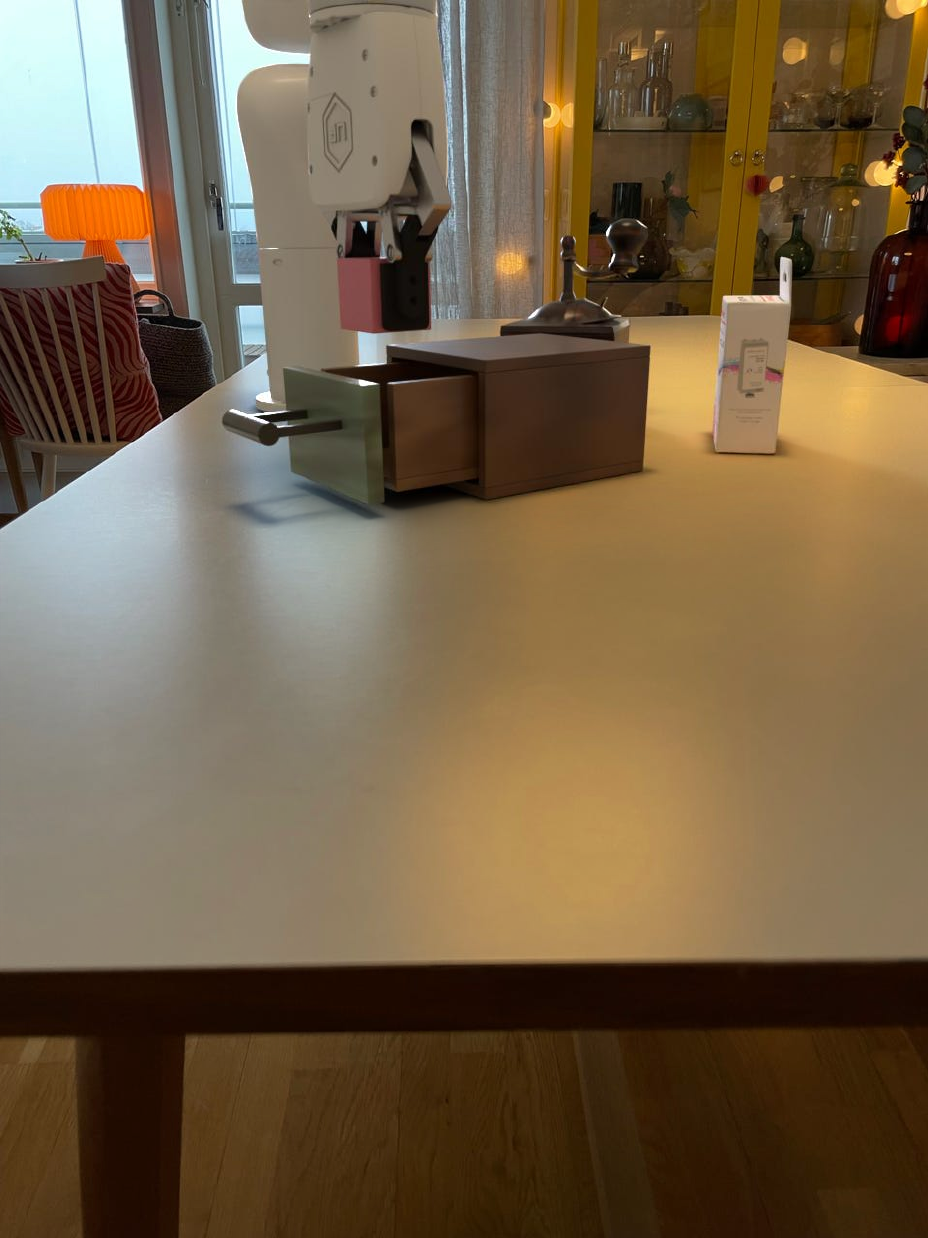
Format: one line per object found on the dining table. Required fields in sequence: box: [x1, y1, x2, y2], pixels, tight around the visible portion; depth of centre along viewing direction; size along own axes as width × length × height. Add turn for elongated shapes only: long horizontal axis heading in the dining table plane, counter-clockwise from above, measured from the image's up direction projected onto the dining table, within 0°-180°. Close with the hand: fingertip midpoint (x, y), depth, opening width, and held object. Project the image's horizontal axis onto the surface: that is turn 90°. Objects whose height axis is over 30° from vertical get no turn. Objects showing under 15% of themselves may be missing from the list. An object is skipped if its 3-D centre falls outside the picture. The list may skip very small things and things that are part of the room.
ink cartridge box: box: [711, 256, 793, 455], centre depth 76 cm, size 9×5×15 cm, turn 168°
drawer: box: [221, 361, 479, 505], centre depth 63 cm, size 19×11×7 cm, turn 125°
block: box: [337, 256, 432, 335], centre depth 61 cm, size 4×4×4 cm
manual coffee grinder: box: [499, 217, 649, 343], centre depth 87 cm, size 16×11×18 cm
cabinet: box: [385, 333, 651, 501], centre depth 70 cm, size 15×13×9 cm
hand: (385, 323), depth 61 cm, fingers closed on block, 4 cm apart
